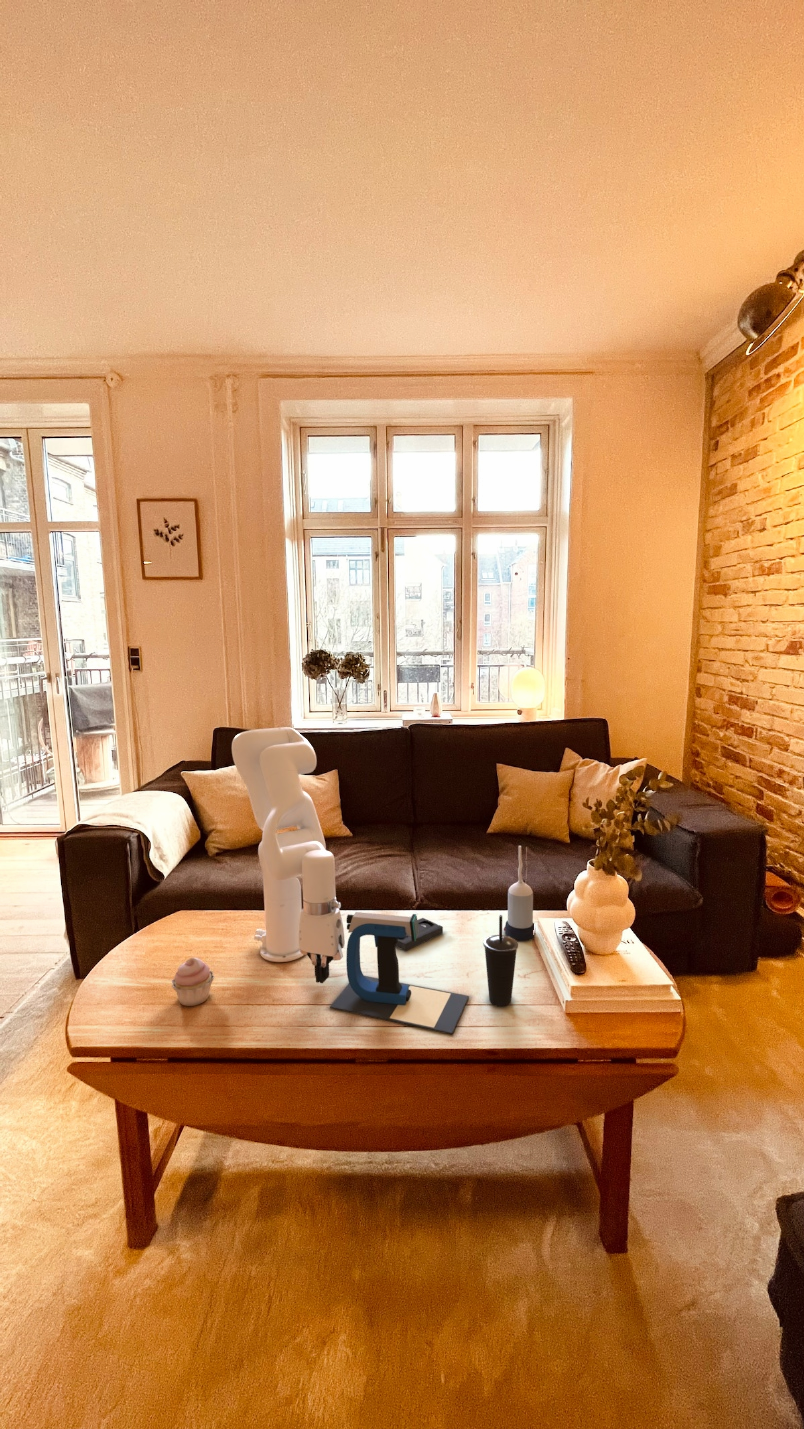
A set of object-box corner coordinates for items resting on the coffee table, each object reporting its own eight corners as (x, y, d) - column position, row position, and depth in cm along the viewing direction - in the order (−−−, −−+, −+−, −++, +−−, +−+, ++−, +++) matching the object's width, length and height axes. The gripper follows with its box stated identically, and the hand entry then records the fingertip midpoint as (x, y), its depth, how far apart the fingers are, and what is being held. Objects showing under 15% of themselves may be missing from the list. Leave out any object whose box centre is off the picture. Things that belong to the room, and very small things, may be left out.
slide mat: (329, 1008, 133) (329, 1006, 133) (356, 975, 146) (356, 974, 146) (452, 1034, 123) (452, 1032, 123) (468, 997, 136) (468, 995, 136)
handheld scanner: (416, 1007, 132) (415, 921, 130) (346, 1000, 135) (344, 916, 133) (420, 996, 136) (419, 913, 134) (351, 989, 139) (350, 907, 138)
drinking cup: (509, 1015, 130) (510, 926, 127) (477, 1004, 134) (477, 918, 131) (522, 997, 136) (523, 912, 134) (491, 987, 140) (491, 905, 138)
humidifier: (501, 928, 169) (501, 842, 167) (529, 926, 170) (530, 840, 168) (509, 942, 161) (510, 852, 159) (539, 940, 162) (540, 850, 160)
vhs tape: (422, 924, 173) (422, 917, 172) (442, 933, 167) (442, 926, 167) (385, 940, 163) (385, 933, 163) (405, 951, 157) (405, 944, 157)
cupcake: (163, 1006, 135) (160, 963, 133) (191, 984, 143) (189, 944, 142) (196, 1014, 131) (194, 971, 130) (223, 992, 140) (221, 951, 139)
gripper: (355, 902, 140) (357, 977, 142) (299, 894, 145) (302, 966, 147) (341, 915, 133) (343, 994, 135) (283, 907, 138) (286, 982, 140)
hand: (322, 979), depth 141 cm, fingers closed
